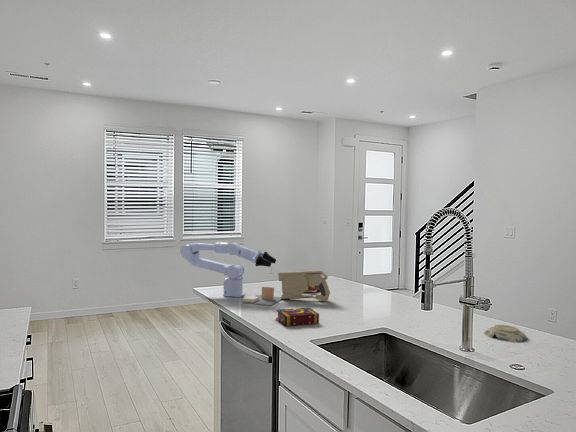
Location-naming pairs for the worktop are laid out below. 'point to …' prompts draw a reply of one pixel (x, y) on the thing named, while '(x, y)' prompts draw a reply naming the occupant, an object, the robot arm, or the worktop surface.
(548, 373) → the worktop surface
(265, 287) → the tile
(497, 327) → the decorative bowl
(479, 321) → the worktop surface
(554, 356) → the worktop surface
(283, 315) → the decorative book
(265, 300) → the mat
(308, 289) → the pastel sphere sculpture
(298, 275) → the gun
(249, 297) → the flat tile
